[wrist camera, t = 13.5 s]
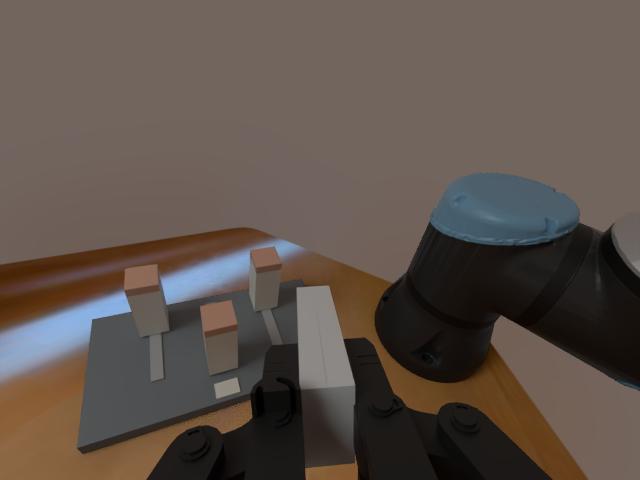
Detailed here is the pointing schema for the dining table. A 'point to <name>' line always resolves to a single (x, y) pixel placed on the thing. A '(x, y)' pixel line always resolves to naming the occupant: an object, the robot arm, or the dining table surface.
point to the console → (174, 367)
